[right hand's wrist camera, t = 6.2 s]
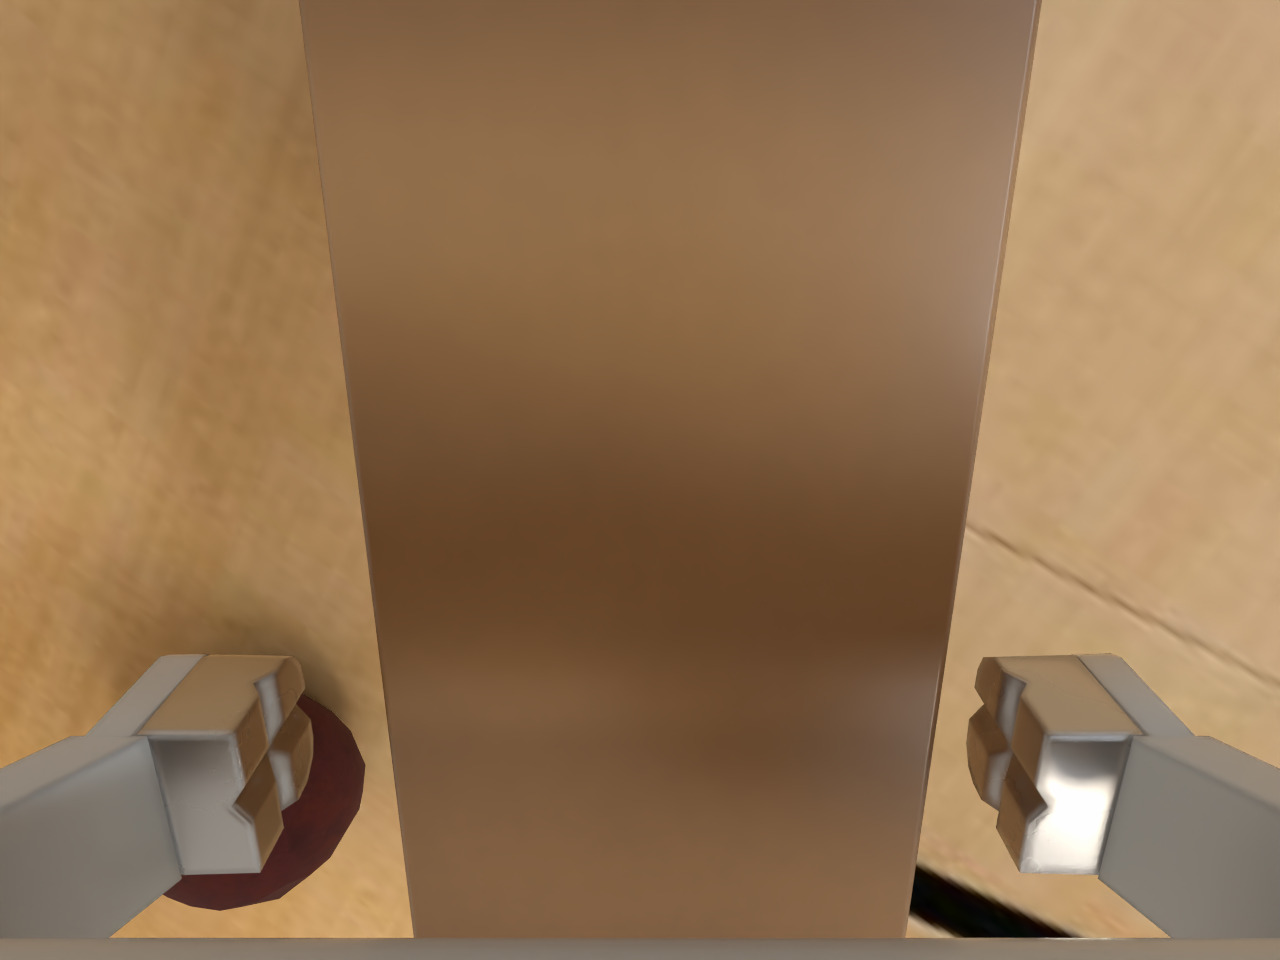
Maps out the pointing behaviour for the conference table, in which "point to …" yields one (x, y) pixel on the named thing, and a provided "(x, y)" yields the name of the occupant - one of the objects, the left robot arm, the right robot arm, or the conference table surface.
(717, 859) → the box
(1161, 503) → the conference table surface
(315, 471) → the conference table surface
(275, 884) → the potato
